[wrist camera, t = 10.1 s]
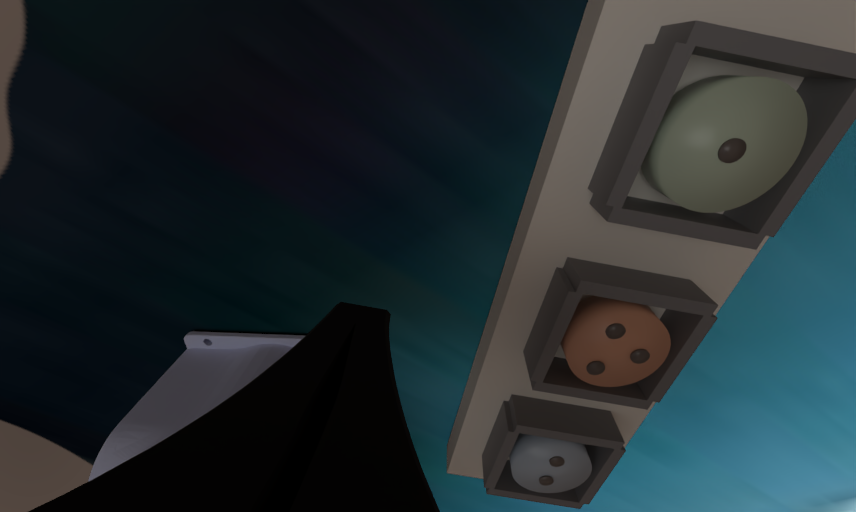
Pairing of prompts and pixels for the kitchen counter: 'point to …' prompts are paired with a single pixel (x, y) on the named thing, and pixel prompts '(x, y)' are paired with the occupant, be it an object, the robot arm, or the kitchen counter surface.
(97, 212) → the kitchen counter surface
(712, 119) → the one pip button
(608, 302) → the three pip button
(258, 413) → the robot arm
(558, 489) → the two pip button
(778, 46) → the button panel
